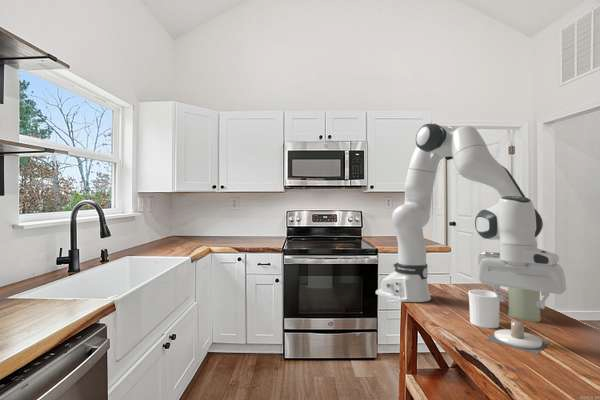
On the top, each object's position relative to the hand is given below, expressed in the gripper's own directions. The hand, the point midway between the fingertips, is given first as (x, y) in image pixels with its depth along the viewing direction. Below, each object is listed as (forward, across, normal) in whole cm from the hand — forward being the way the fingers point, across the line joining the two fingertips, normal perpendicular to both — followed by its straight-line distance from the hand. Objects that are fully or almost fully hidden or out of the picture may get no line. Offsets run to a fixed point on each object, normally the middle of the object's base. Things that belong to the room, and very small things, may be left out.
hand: (520, 304), depth 91 cm
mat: (+11, -1, 0) cm, 11 cm away
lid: (+10, -1, 0) cm, 10 cm away
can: (+11, -6, +26) cm, 28 cm away
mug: (+11, -13, +8) cm, 18 cm away
